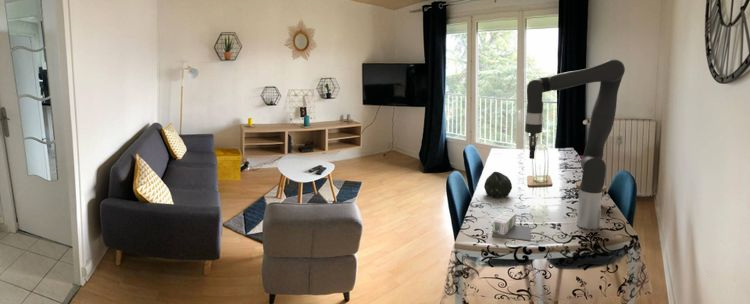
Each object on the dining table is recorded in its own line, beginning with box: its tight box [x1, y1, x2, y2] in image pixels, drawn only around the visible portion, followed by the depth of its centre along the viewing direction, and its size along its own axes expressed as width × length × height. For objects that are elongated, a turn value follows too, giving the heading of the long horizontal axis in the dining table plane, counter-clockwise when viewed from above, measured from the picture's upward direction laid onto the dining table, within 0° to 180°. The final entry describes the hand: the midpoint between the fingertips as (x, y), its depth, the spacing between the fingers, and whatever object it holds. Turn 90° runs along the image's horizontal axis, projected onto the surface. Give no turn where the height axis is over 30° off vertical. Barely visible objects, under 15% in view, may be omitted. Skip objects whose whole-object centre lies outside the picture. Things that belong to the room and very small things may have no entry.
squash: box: [483, 171, 513, 199], centre depth 257 cm, size 14×15×15 cm
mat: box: [491, 224, 531, 242], centre depth 210 cm, size 16×15×1 cm
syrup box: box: [492, 211, 517, 235], centre depth 212 cm, size 6×6×14 cm
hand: (531, 158), depth 222 cm, fingers closed
